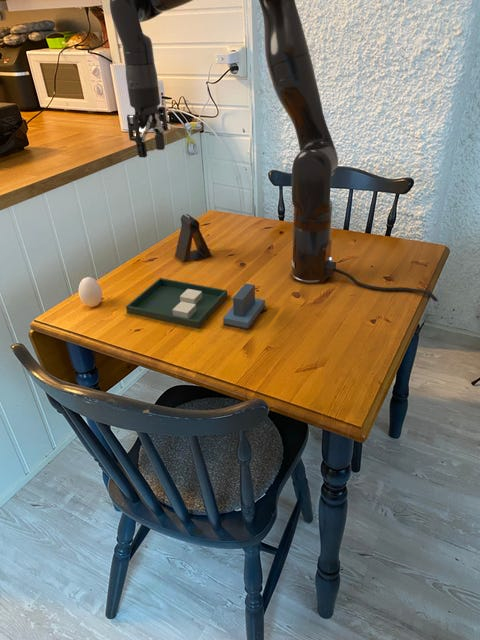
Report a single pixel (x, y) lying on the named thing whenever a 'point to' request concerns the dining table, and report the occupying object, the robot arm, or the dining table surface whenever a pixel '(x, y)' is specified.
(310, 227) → the robot arm
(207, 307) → the tray
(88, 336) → the dining table surface
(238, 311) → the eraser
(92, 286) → the egg
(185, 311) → the cream slab tile
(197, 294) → the beige square tile
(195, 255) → the dark grey a-frame stand
